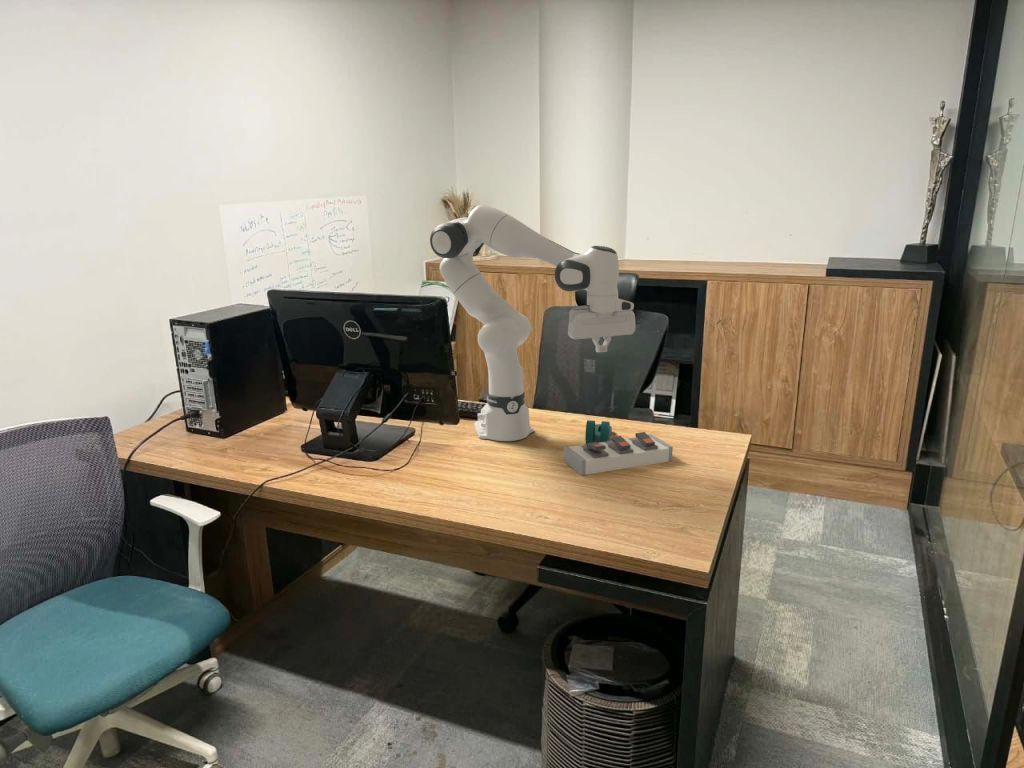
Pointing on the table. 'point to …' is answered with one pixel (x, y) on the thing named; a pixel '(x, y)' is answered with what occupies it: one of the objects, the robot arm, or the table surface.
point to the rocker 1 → (595, 446)
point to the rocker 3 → (645, 439)
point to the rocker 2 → (620, 442)
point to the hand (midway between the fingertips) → (601, 351)
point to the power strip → (616, 456)
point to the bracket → (598, 432)
